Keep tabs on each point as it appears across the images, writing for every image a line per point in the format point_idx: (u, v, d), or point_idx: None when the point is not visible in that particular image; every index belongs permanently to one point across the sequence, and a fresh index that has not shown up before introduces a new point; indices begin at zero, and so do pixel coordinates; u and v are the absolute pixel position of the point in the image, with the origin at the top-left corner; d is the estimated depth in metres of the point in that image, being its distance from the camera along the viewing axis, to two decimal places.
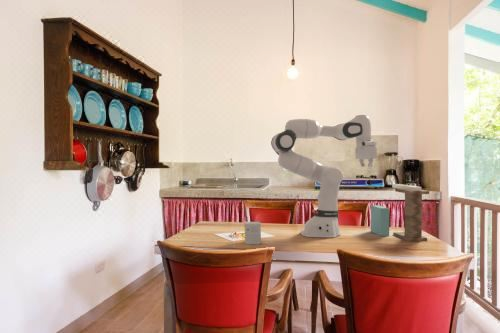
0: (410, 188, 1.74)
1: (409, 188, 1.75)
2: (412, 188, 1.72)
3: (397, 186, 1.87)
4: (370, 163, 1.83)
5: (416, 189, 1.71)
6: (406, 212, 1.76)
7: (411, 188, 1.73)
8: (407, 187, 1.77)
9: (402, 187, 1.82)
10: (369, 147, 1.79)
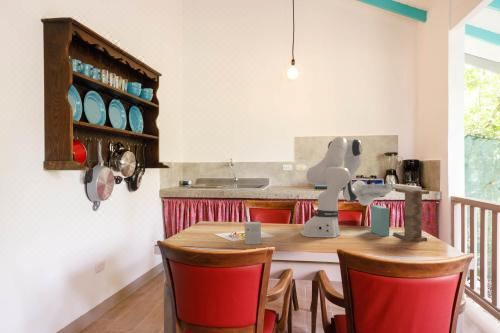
0: (410, 188, 1.74)
1: (409, 188, 1.75)
2: (412, 188, 1.72)
3: (397, 186, 1.87)
4: None
5: (416, 189, 1.71)
6: (406, 212, 1.76)
7: (411, 188, 1.73)
8: (407, 187, 1.77)
9: (402, 187, 1.82)
10: None
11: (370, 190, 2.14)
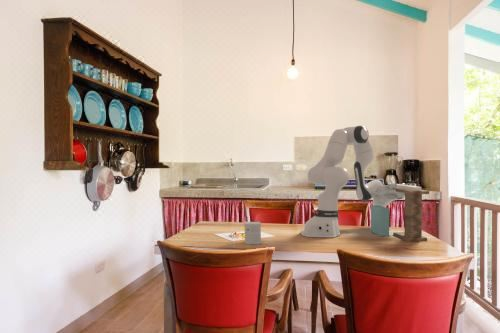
0: (410, 188, 1.74)
1: (409, 188, 1.75)
2: (412, 188, 1.72)
3: (397, 186, 1.87)
4: None
5: (416, 189, 1.71)
6: (406, 212, 1.76)
7: (411, 188, 1.73)
8: (407, 187, 1.77)
9: (402, 187, 1.82)
10: None
11: (387, 191, 1.92)
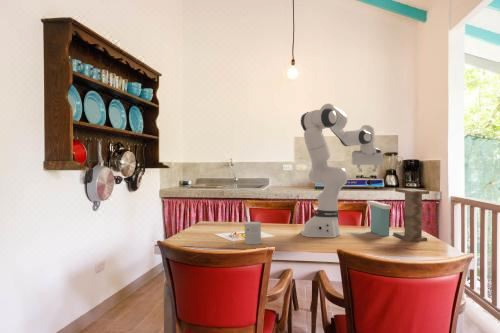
0: (381, 206, 1.83)
1: (380, 206, 1.84)
2: (383, 206, 1.82)
3: (370, 203, 1.96)
4: None
5: (386, 207, 1.80)
6: (406, 212, 1.76)
7: (382, 206, 1.82)
8: (379, 205, 1.86)
9: (374, 204, 1.91)
10: None
11: None
